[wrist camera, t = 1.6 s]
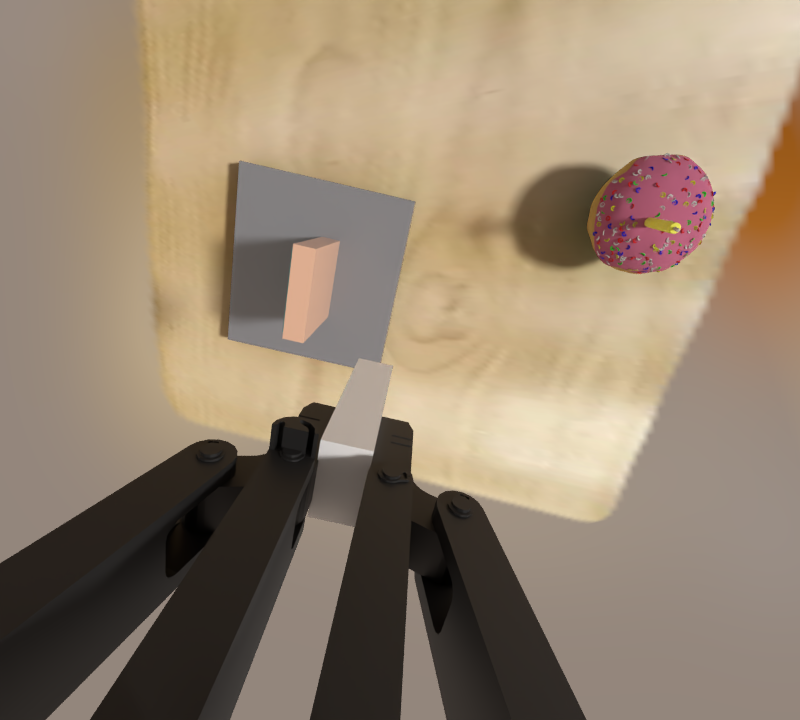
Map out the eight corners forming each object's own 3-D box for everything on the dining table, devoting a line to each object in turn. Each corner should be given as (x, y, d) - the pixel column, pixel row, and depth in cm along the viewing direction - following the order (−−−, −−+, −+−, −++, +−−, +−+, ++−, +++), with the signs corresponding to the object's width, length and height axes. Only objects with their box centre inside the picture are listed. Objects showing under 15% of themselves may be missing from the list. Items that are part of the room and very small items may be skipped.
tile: (320, 236, 35) (291, 243, 27) (339, 240, 35) (316, 249, 27) (309, 312, 37) (280, 338, 30) (328, 316, 37) (303, 343, 30)
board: (246, 162, 35) (239, 160, 33) (415, 201, 35) (415, 201, 33) (234, 334, 40) (227, 339, 39) (379, 367, 40) (378, 373, 39)
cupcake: (580, 279, 36) (648, 310, 25) (560, 183, 34) (627, 169, 22) (680, 247, 35) (801, 265, 24) (668, 144, 32) (798, 108, 21)
